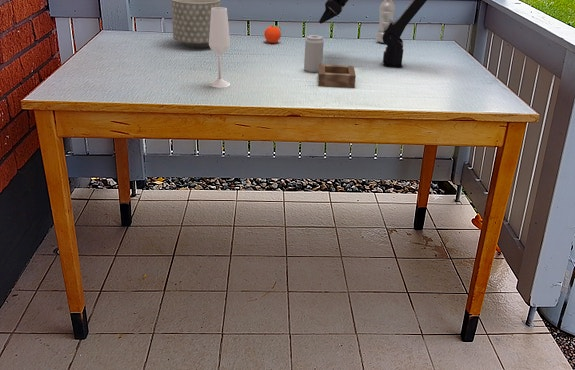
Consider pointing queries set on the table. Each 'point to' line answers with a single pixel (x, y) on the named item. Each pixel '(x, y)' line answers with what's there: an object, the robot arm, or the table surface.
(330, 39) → the table surface
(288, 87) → the table surface
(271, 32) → the clementine
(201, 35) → the planter
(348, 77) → the socket block
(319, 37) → the beverage can
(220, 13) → the champagne flute
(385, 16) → the plastic bottle
